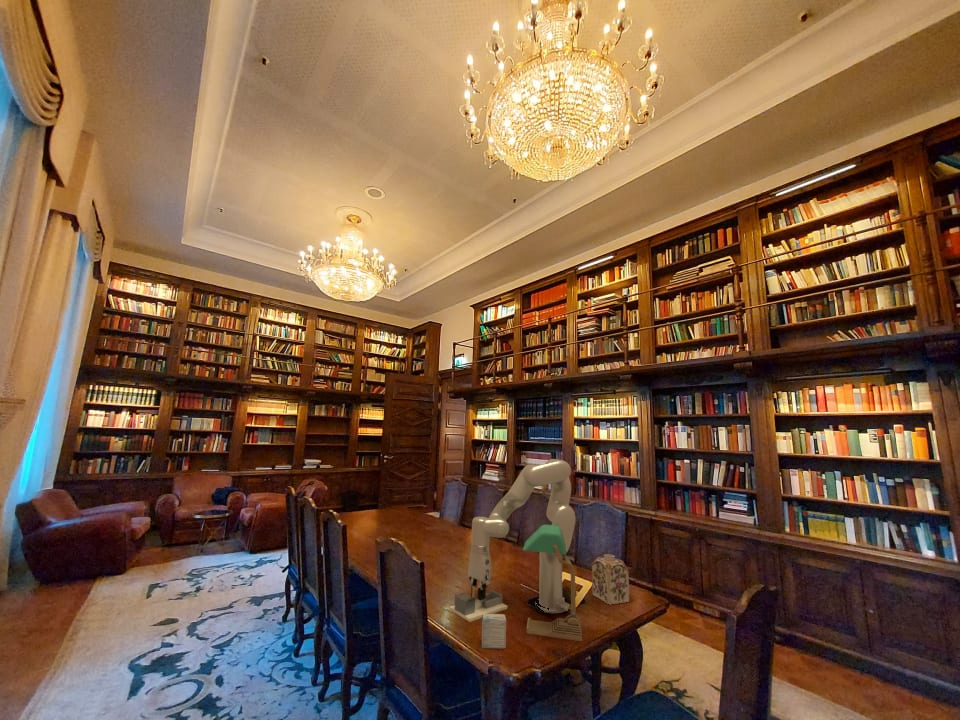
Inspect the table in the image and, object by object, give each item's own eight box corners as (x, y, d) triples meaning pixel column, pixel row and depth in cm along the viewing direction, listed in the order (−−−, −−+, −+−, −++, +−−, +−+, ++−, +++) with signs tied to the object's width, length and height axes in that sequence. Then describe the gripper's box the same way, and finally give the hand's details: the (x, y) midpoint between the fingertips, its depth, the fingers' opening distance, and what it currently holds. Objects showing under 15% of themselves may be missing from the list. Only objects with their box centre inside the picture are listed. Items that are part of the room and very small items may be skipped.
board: (507, 608, 154) (507, 597, 155) (469, 621, 141) (470, 609, 142) (486, 598, 163) (486, 587, 164) (449, 609, 151) (449, 597, 152)
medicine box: (504, 642, 128) (505, 613, 130) (505, 649, 123) (506, 619, 125) (481, 641, 128) (482, 613, 129) (481, 648, 123) (482, 619, 125)
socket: (474, 612, 147) (475, 598, 148) (465, 615, 144) (465, 601, 145) (463, 606, 152) (464, 592, 153) (454, 609, 149) (455, 595, 150)
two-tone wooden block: (485, 606, 153) (486, 586, 154) (464, 613, 146) (465, 592, 147) (479, 603, 155) (480, 583, 157) (458, 609, 148) (459, 589, 150)
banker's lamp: (583, 646, 127) (581, 535, 134) (521, 637, 131) (522, 530, 139) (580, 625, 142) (578, 526, 149) (525, 618, 146) (526, 522, 154)
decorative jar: (609, 605, 161) (607, 560, 165) (591, 595, 171) (590, 552, 175) (630, 602, 165) (628, 558, 169) (612, 592, 176) (611, 550, 180)
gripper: (500, 552, 153) (499, 602, 149) (474, 543, 165) (472, 589, 162) (486, 555, 148) (484, 607, 144) (460, 545, 161) (458, 592, 157)
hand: (478, 597), depth 153 cm, fingers open, 4 cm apart
